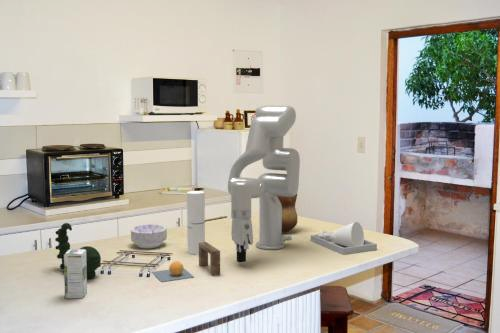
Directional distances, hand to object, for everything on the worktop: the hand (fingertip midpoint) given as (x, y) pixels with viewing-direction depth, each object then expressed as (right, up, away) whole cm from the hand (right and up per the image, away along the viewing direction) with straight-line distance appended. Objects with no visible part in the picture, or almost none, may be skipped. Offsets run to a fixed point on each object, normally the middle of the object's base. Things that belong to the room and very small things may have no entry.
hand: (241, 261), depth 203 cm
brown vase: (+19, +4, +55) cm, 58 cm away
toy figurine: (-58, -3, -11) cm, 59 cm away
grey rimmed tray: (+44, +2, +30) cm, 53 cm away
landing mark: (-24, -3, -11) cm, 27 cm away
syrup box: (-52, -5, -32) cm, 61 cm away
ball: (-23, 0, -12) cm, 26 cm away
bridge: (-12, -2, -5) cm, 13 cm away
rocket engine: (+43, +2, +30) cm, 53 cm away
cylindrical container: (-19, 0, +19) cm, 27 cm away
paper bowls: (-40, +1, +28) cm, 49 cm away
